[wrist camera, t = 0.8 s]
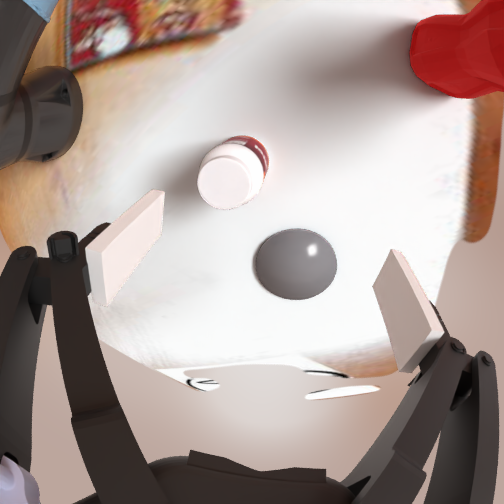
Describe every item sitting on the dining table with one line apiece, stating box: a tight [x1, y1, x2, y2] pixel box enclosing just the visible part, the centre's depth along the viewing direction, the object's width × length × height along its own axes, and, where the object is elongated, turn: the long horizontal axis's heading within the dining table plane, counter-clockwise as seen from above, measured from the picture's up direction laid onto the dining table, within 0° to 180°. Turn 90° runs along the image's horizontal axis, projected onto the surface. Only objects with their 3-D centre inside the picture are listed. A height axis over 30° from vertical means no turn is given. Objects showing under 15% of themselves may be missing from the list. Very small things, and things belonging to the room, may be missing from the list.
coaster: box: [256, 229, 337, 300], centre depth 40 cm, size 11×11×1 cm
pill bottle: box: [197, 136, 269, 210], centre depth 29 cm, size 6×6×11 cm
